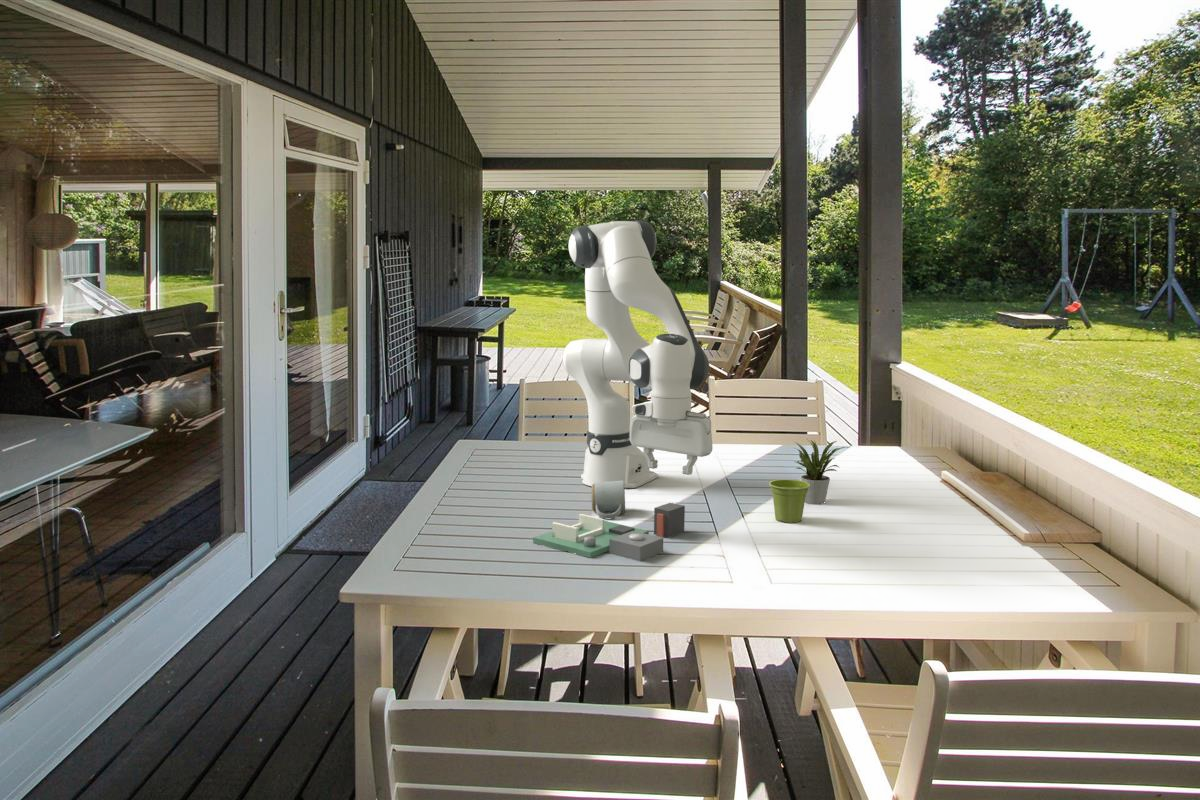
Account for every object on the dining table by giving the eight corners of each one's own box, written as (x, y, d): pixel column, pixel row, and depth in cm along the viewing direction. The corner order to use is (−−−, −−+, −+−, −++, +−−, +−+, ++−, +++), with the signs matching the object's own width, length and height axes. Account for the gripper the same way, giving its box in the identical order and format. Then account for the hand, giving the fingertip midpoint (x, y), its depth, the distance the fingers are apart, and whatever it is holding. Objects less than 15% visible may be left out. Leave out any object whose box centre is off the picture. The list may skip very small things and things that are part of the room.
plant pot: (763, 514, 229) (764, 479, 228) (802, 513, 230) (803, 478, 229) (773, 525, 220) (775, 488, 219) (813, 524, 221) (815, 488, 219)
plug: (669, 528, 217) (670, 502, 216) (684, 531, 215) (684, 505, 214) (652, 534, 212) (652, 508, 211) (666, 538, 210) (667, 511, 209)
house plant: (851, 497, 246) (854, 434, 243) (846, 510, 233) (849, 444, 230) (794, 492, 250) (797, 431, 248) (787, 505, 237) (789, 440, 235)
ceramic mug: (591, 507, 235) (591, 477, 233) (625, 507, 235) (625, 477, 234) (591, 520, 224) (591, 488, 223) (626, 520, 224) (626, 488, 223)
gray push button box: (632, 544, 205) (632, 528, 205) (663, 551, 200) (663, 535, 200) (609, 553, 199) (609, 536, 199) (640, 561, 194) (640, 543, 194)
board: (592, 523, 221) (592, 505, 221) (648, 536, 211) (648, 517, 211) (533, 542, 206) (533, 523, 205) (590, 557, 196) (590, 538, 195)
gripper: (719, 412, 205) (717, 475, 207) (642, 402, 218) (642, 462, 220) (702, 415, 201) (701, 480, 202) (625, 406, 213) (625, 466, 215)
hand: (669, 471), depth 211 cm, fingers open, 8 cm apart
